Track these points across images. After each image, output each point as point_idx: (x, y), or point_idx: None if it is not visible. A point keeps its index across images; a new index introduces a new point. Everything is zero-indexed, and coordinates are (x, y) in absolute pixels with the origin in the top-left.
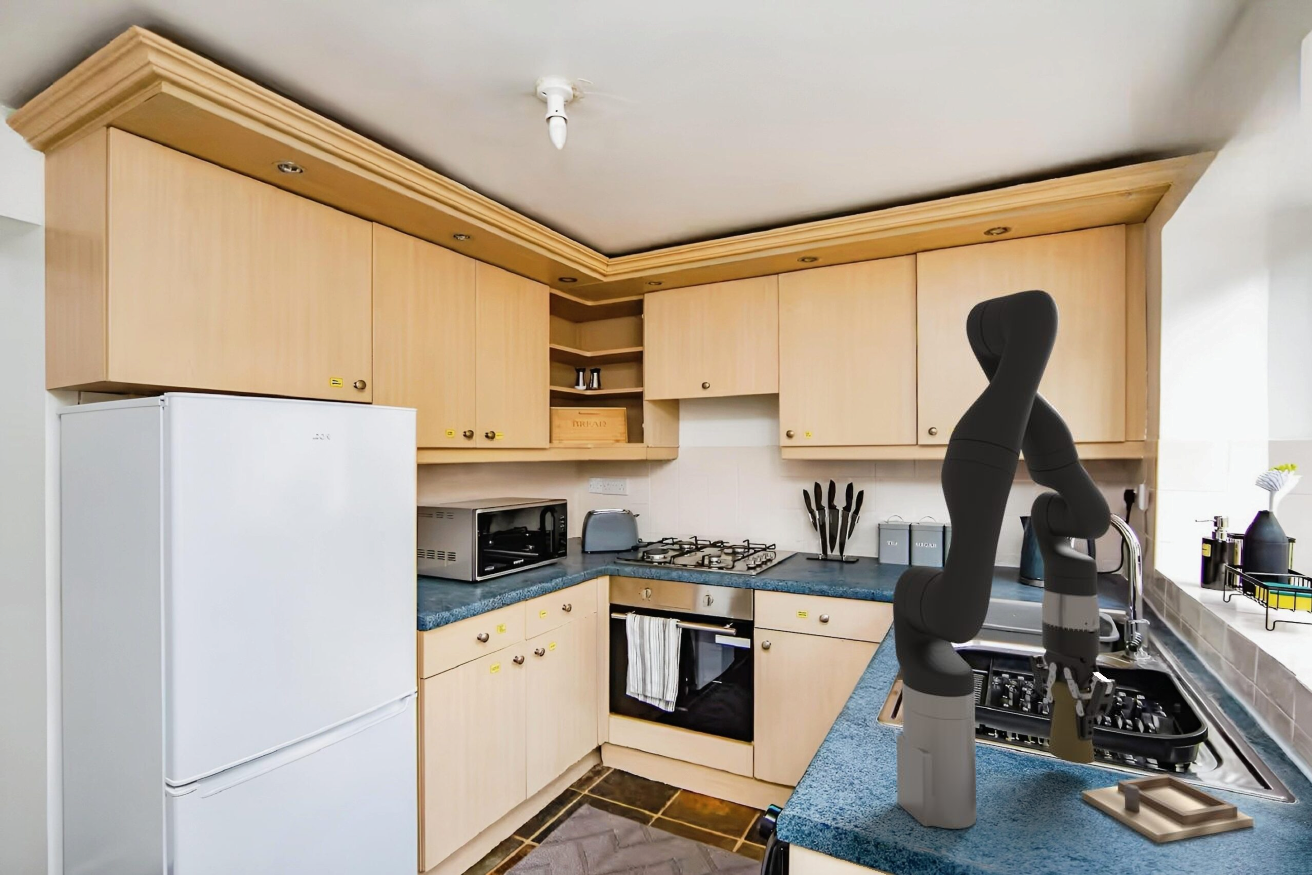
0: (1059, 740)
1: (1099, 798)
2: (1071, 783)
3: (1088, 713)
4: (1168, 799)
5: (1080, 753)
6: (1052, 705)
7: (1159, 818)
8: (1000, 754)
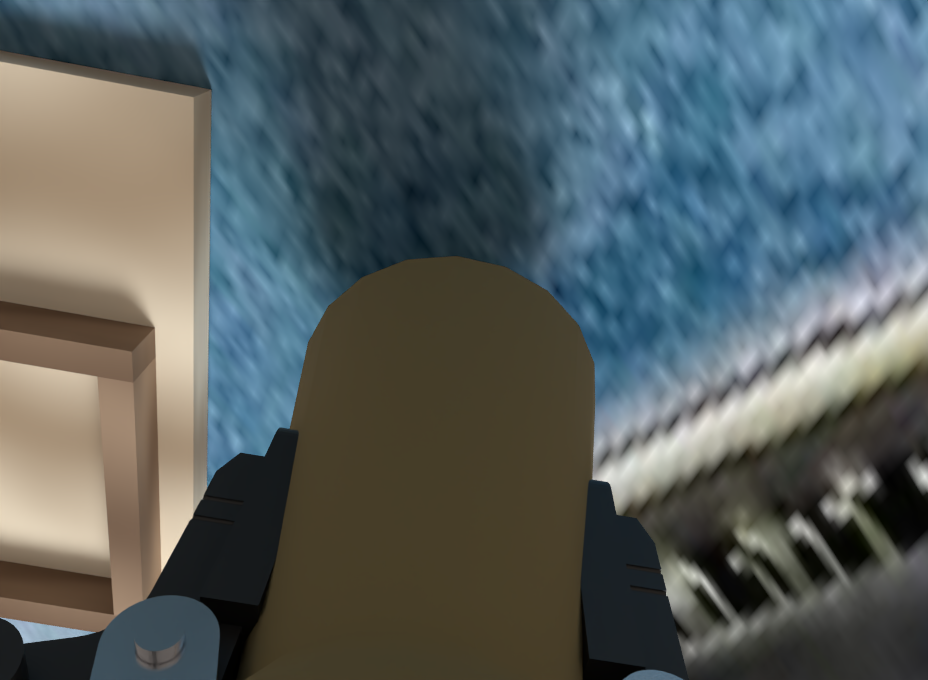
0: (432, 333)
1: (88, 113)
2: (379, 220)
3: (14, 642)
4: (13, 452)
5: (310, 362)
6: (611, 644)
7: None
8: (882, 166)
